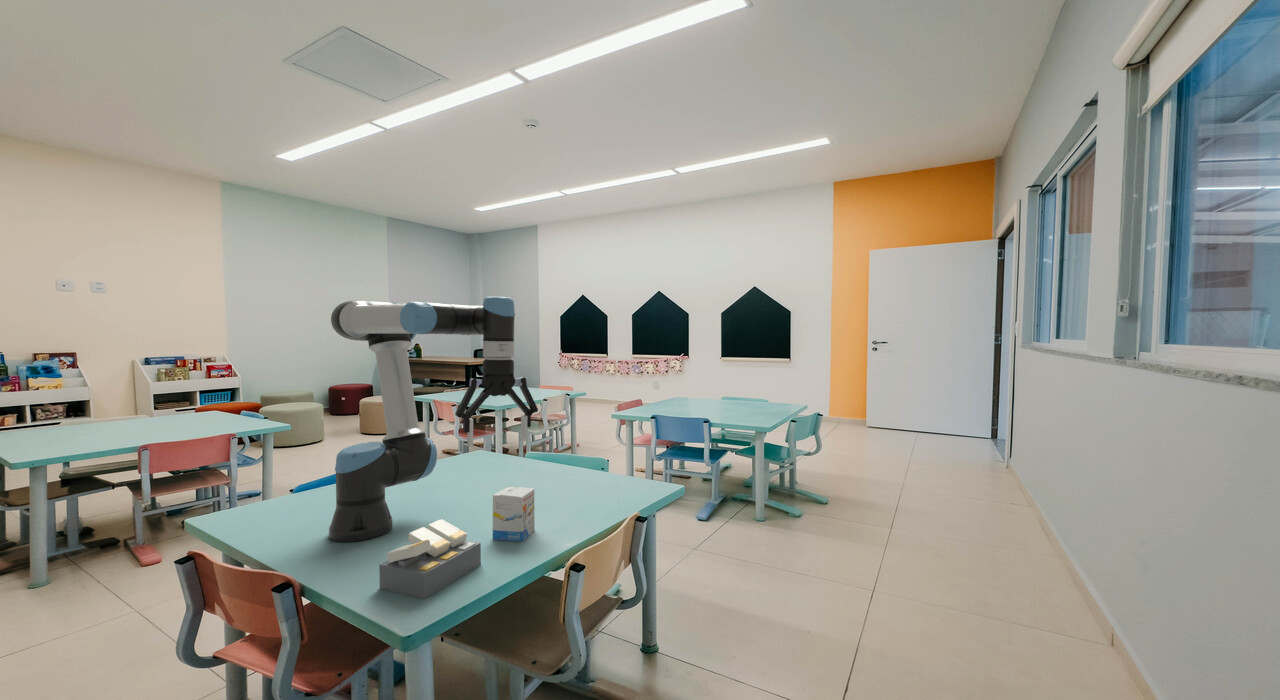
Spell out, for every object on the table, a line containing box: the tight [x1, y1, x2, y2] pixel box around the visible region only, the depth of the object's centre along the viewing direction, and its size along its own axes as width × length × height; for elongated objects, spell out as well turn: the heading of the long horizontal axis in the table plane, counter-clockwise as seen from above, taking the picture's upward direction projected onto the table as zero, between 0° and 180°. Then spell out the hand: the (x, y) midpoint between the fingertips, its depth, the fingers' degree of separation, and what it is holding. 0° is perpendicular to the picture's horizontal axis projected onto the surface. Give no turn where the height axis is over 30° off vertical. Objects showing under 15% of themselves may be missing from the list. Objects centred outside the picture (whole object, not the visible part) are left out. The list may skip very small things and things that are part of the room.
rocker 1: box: [386, 540, 431, 562], centre depth 107 cm, size 8×4×2 cm, turn 69°
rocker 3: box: [427, 518, 468, 547], centre depth 117 cm, size 8×4×2 cm, turn 68°
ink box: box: [492, 486, 536, 542], centre depth 135 cm, size 9×8×12 cm
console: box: [378, 539, 482, 600], centre depth 111 cm, size 12×17×6 cm
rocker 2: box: [407, 526, 450, 557], centre depth 112 cm, size 8×4×2 cm, turn 68°
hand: (497, 442), depth 128 cm, fingers open, 13 cm apart
